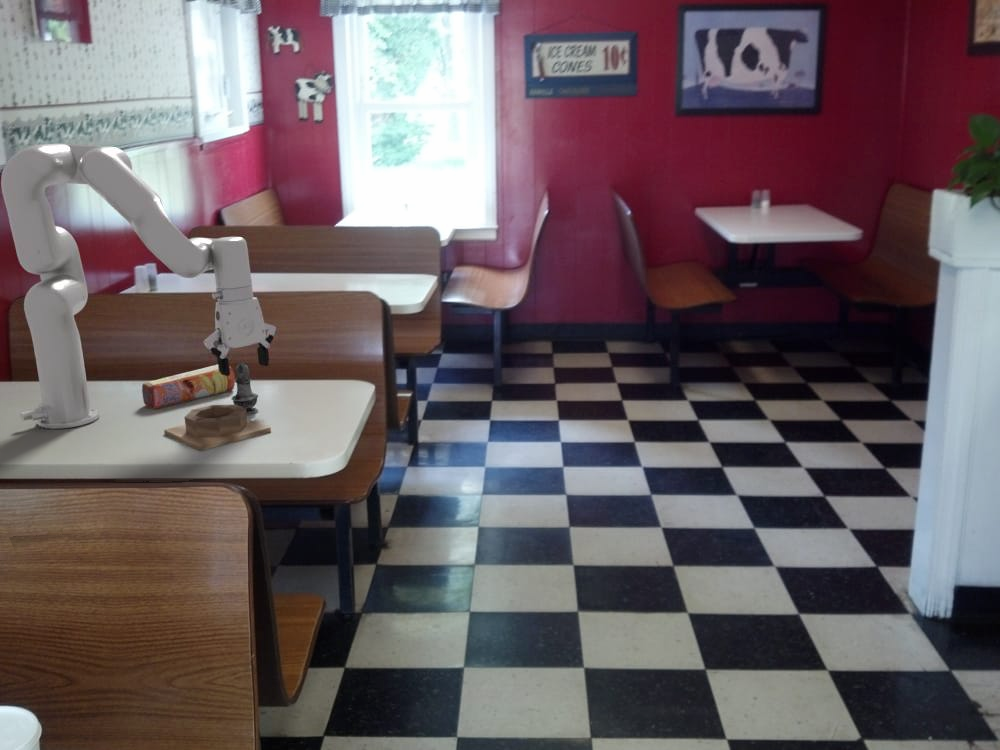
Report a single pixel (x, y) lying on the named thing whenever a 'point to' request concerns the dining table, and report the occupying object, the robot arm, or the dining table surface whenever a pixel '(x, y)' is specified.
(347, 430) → the dining table surface
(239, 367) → the grey upright turned piece
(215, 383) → the snack package
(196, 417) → the collar
